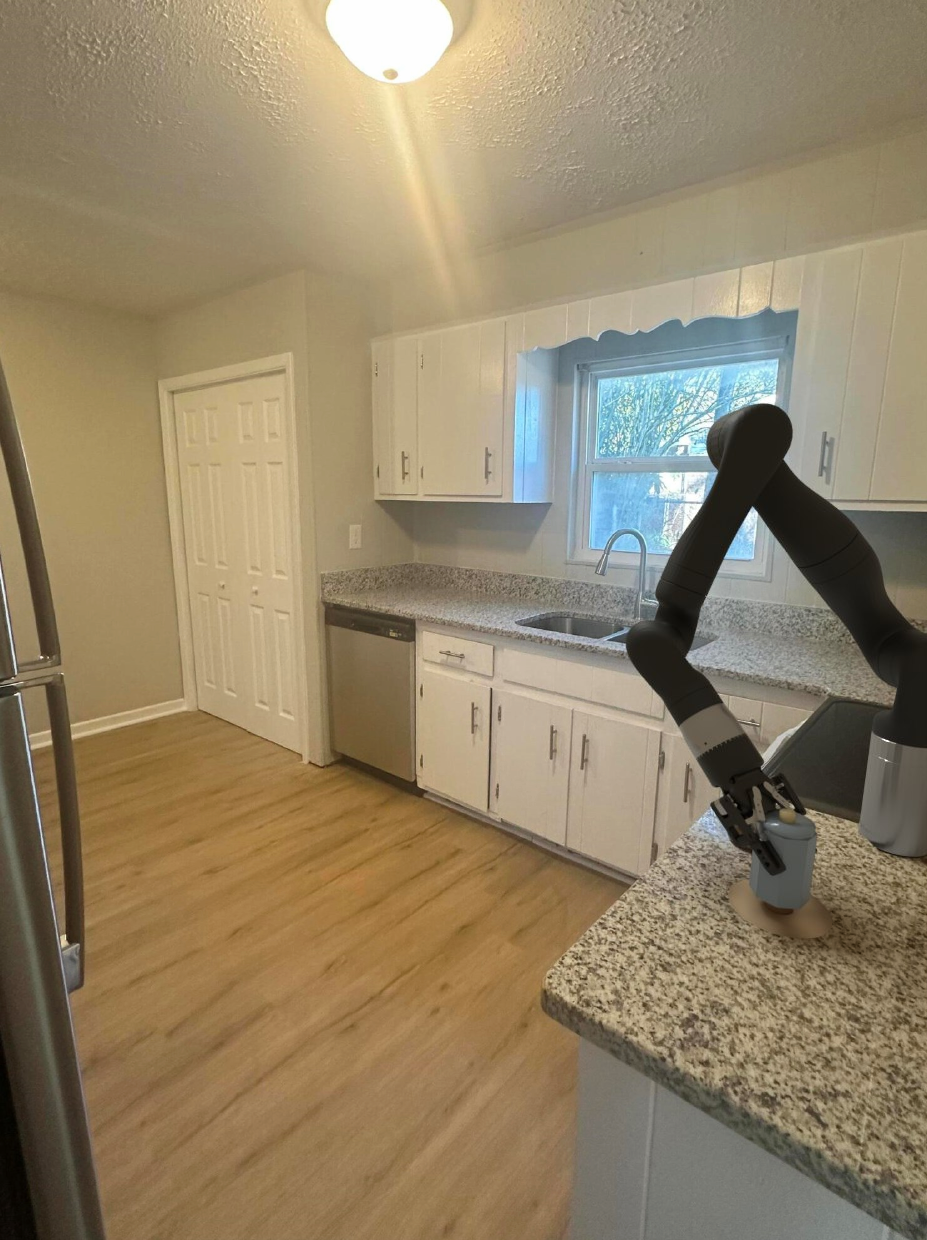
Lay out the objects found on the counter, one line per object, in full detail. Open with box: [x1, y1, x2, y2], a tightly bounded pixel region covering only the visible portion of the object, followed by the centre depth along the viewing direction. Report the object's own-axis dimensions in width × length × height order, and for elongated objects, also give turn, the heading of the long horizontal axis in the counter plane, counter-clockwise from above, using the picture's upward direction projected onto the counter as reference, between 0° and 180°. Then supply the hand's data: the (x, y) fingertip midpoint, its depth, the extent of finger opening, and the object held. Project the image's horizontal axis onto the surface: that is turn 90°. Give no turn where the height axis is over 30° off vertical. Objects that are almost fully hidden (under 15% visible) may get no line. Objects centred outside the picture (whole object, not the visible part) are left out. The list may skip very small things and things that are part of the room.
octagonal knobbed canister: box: [748, 809, 819, 909], centre depth 79 cm, size 6×6×11 cm
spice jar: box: [764, 901, 794, 915], centre depth 80 cm, size 4×4×5 cm
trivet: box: [727, 878, 833, 940], centre depth 80 cm, size 12×12×1 cm
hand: (795, 863), depth 77 cm, fingers closed on octagonal knobbed canister, 6 cm apart
